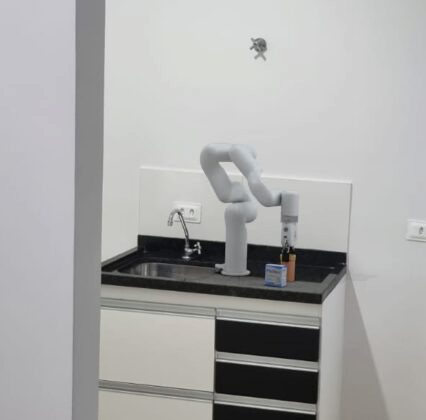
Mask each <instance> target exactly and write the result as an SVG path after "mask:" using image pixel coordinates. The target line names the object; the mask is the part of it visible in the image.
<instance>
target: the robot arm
mask: <svg viewBox="0 0 426 420" xmlns="http://www.w3.org/2000/svg"><path fill="white" fill-rule="evenodd" d="M256 158H257V151H256V149H255V147H253V145H250V144H248V143H247V144H243V143H241V144H240V143H231V142H211V143H208V144H206V145H204V146H203V148H202V149H201V151H200V154H199V164H200V167H201V169H202V171H203V173H204V175H205V176H206V178H207V179H208V182H209V184H210V186H211V188H212V190H213V191H214V193H215V196H216V197H217V199H218V201H219V202H221V203H223V204H229V205H228V206H227V207H226V208H225V210H224V214H223V216H224V217H223V218H224V224H225V249H224V250H225V252H224V254H225V255H224V263H222V264H220V263H215V265H214V269H217V270H221V272H220V274H221V275H223V276H230V277H244V276H249V275H250V274H251V271H250V270H248V269H247V263H248V262H247V261H248V260H247V258H248V229H247V225H246V224H250V223H252V222H254V221H255V220H256V219H257V218H258V217H257V216H258V209H257V206H256V204H255V202H254V200H253V198H252V196H253V197H254V198H255V200H256V201H257V202H258V203H259V204H260V205H261V206H263V207H265V208H273V207H280V223H281V233H280V245H281V254H282V262H289V256H290V254H293V255H295V246H296V245H297V244H298V223H299V207H300V205H299V204H300V203H299V200H300V193H299V192H298V191H296V190H286V189H281V188H272V189H271V188H269V187H268V186H267V185H266V184H265V182H264V181H263V179H262V177H261V175H262V173H263V166H262V165H261V164H260V163H259V162H258V160H257V159H256ZM220 163H233V165H234V166H235V167H236V168H237V169H238V170H239V172H240V173H241V174H242V176H243V177H244V178H245V179H246V181H247V186H248V188H247V187H246V186H245V184H243V183H242V182H240V181H237V180H236V181H235V180H234V181H233V180H231V179H230V177H229V175H228V173H227V172H226V170H225V168H224V167H222V165H221V164H220ZM248 189H249V191H248ZM250 193H251V194H250ZM251 195H252V196H251Z"/></svg>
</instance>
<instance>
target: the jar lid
mask: <svg viewBox="0 0 426 420" xmlns="http://www.w3.org/2000/svg"><path fill="white" fill-rule="evenodd" d="M296 258H297V257H296V254H294V255H293V254H290V256H289V260H295V261H296V260H297V259H296ZM279 259H280V260H281V259H282V253H281V254H279Z"/></svg>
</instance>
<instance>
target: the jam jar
mask: <svg viewBox="0 0 426 420" xmlns="http://www.w3.org/2000/svg"><path fill="white" fill-rule="evenodd" d="M280 265H285V266H287V274H286V283H289V282H294V281H295V276H296V275H295V274H296V270H295V269H296V259H295V260H289V262H282V259H280Z"/></svg>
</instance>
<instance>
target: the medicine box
mask: <svg viewBox="0 0 426 420" xmlns="http://www.w3.org/2000/svg"><path fill="white" fill-rule="evenodd" d="M286 274H287V266H285V265H281V264H277V263H276V264H274V263H267V264H265V275H264V286H266V287H267V286H269V287H277V288H283V287H286V286H287V281H286Z"/></svg>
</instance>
